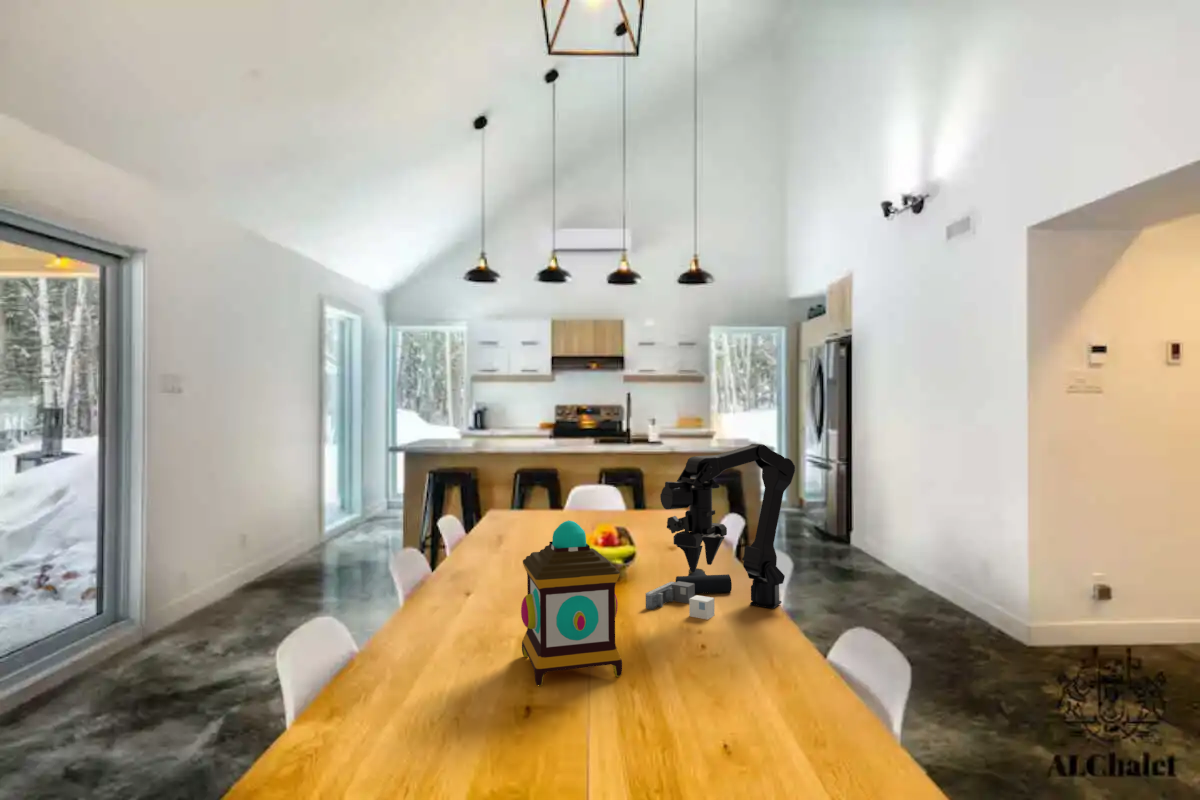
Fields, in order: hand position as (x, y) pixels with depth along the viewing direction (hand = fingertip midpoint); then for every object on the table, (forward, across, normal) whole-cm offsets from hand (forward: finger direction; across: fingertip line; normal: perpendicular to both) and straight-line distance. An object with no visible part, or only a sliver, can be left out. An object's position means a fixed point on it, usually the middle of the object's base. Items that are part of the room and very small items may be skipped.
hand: (701, 568), depth 175 cm
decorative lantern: (+12, +45, -7) cm, 47 cm away
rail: (+12, -4, -14) cm, 19 cm away
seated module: (+12, -9, -10) cm, 18 cm away
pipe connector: (+12, -22, -11) cm, 28 cm away
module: (+12, 0, 0) cm, 12 cm away
